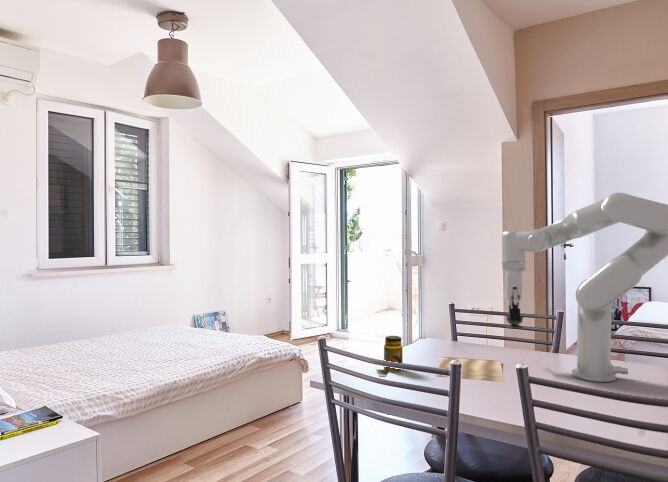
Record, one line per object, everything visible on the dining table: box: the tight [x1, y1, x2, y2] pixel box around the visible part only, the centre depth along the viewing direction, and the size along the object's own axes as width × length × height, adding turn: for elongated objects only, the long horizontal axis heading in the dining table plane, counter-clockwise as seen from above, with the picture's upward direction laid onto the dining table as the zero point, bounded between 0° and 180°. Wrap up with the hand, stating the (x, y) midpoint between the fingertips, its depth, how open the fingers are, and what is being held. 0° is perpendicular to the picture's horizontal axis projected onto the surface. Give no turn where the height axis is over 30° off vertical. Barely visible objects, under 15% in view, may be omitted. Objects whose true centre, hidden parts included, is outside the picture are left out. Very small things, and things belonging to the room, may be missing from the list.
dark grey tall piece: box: [505, 298, 524, 330], centre depth 170 cm, size 6×6×12 cm
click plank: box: [438, 356, 503, 374], centre depth 167 cm, size 20×12×1 cm, turn 73°
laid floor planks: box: [435, 368, 504, 383], centre depth 156 cm, size 20×10×1 cm, turn 73°
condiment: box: [375, 335, 403, 377], centre depth 161 cm, size 7×8×12 cm
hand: (514, 318), depth 170 cm, fingers closed on dark grey tall piece, 5 cm apart
